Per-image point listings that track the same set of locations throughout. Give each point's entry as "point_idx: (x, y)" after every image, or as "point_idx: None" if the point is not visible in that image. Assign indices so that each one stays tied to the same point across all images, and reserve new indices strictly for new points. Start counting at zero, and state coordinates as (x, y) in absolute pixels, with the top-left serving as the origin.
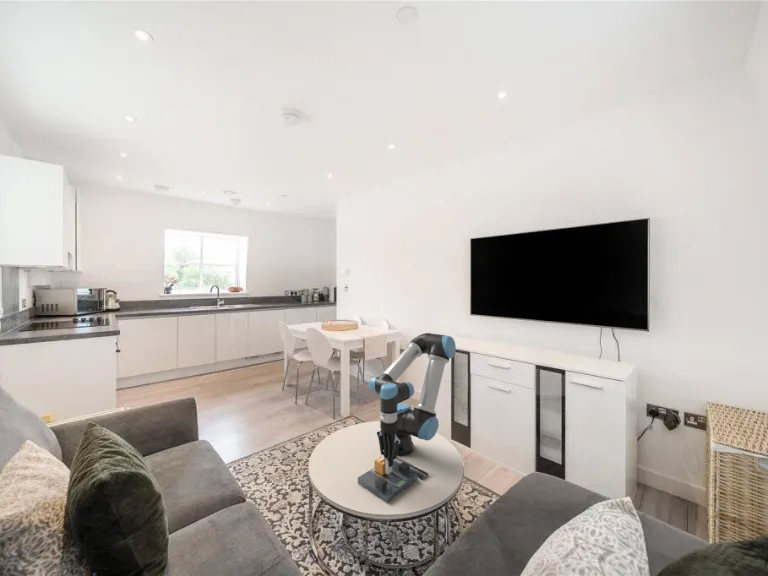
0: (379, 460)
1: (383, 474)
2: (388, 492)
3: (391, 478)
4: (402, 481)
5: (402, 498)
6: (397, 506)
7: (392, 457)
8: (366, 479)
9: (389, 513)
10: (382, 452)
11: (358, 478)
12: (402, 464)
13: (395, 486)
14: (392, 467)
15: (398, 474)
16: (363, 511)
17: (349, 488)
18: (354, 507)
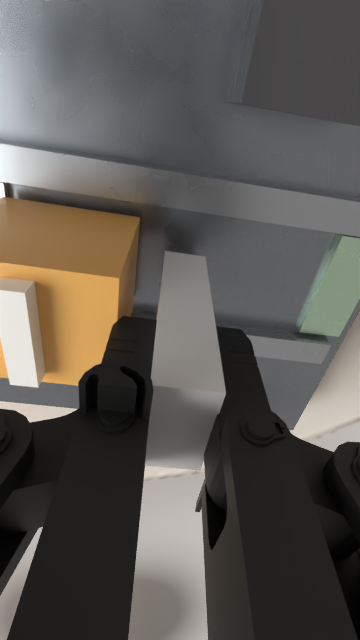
0: (21, 379)
1: (132, 296)
2: (281, 403)
3: (221, 273)
4: (350, 262)
5: (357, 324)
6: (346, 385)
7: (342, 580)
8: (60, 386)
9: (321, 431)
10: (21, 556)
11: (6, 398)
12: (302, 30)
13: (318, 363)
14: (102, 66)
15: (275, 204)
16: (203, 468)
17: (22, 413)
18: (153, 470)
